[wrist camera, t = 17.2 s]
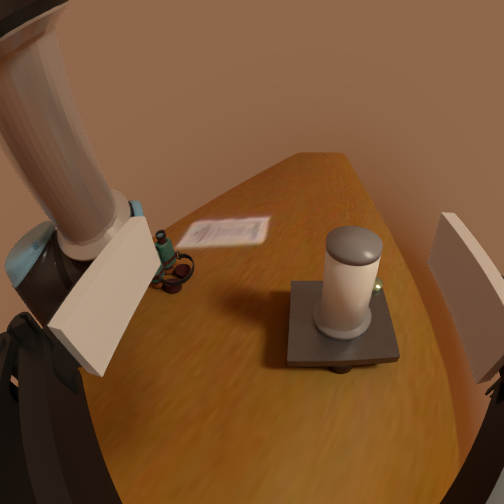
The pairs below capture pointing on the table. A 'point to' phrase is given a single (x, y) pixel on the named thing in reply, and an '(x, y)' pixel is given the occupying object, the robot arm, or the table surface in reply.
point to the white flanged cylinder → (347, 282)
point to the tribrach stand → (330, 350)
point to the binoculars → (170, 265)
